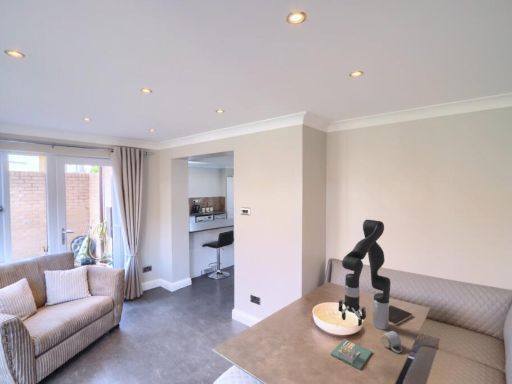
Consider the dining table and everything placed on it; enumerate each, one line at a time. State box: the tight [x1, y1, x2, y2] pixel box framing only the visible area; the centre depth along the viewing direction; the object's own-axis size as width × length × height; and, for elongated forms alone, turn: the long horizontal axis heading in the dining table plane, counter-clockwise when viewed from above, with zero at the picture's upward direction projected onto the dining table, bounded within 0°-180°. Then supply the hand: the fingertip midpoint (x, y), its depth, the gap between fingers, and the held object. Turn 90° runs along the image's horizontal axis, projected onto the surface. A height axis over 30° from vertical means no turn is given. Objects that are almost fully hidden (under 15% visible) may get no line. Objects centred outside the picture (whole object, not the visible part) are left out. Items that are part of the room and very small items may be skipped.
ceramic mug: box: [380, 330, 403, 354], centre depth 147 cm, size 11×8×8 cm
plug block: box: [343, 340, 356, 357], centre depth 138 cm, size 5×4×6 cm
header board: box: [330, 338, 373, 370], centre depth 141 cm, size 18×16×6 cm
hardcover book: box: [388, 304, 413, 326], centre depth 183 cm, size 16×23×2 cm
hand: (351, 322), depth 140 cm, fingers open, 8 cm apart
